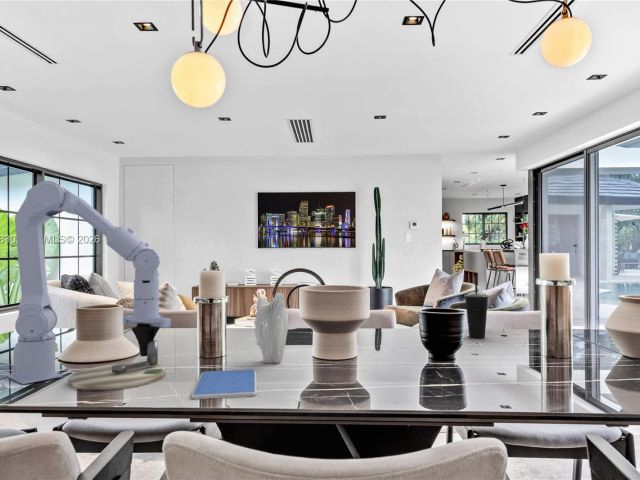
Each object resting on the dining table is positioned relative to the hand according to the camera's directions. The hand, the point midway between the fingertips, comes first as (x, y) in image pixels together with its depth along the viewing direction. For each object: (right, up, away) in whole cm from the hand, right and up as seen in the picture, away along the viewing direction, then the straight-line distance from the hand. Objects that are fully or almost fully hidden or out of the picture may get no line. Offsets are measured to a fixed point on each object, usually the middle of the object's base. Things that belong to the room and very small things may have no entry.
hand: (145, 355), depth 111 cm
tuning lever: (-1, -2, -4) cm, 5 cm away
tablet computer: (+22, -4, -13) cm, 26 cm away
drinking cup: (+93, -4, +41) cm, 102 cm away
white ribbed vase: (+29, -4, +7) cm, 31 cm away
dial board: (-3, -3, -7) cm, 8 cm away
